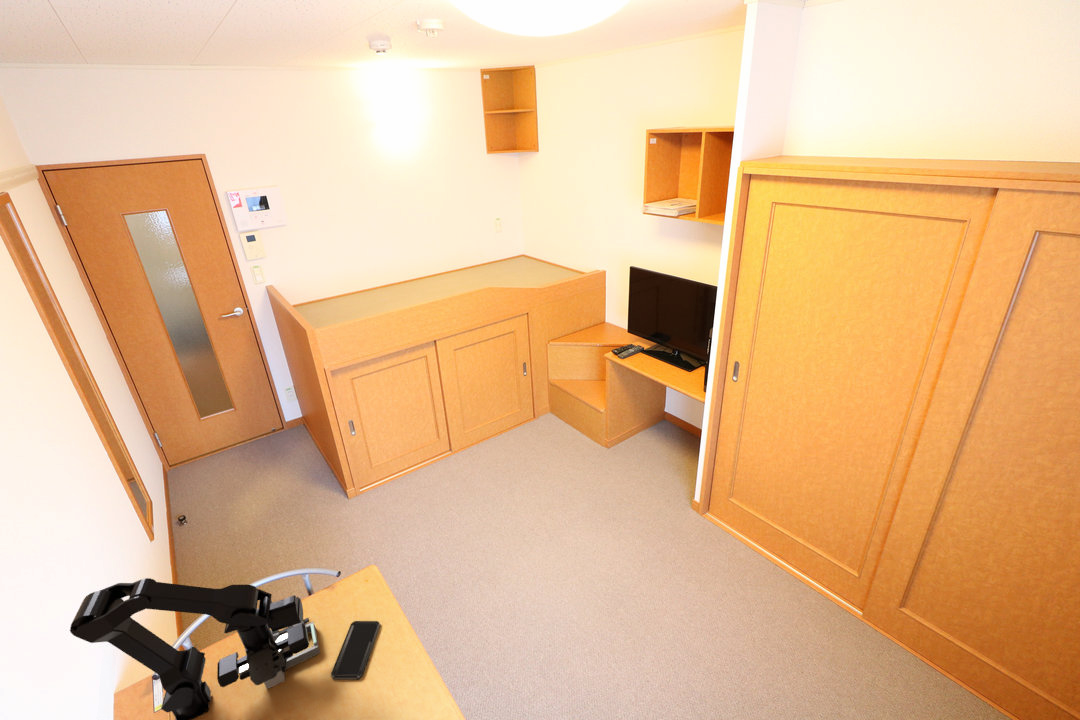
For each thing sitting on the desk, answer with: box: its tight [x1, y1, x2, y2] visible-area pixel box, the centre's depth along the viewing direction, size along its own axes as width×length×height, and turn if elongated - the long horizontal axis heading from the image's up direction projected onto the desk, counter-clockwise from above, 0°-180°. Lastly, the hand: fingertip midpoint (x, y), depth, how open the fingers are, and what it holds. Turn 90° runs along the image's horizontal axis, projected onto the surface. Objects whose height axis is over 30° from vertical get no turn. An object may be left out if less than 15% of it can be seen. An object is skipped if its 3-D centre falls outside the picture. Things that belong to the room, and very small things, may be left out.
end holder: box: [279, 621, 321, 671], centre depth 127 cm, size 8×8×3 cm
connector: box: [264, 668, 286, 690], centre depth 120 cm, size 4×4×7 cm
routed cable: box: [271, 617, 310, 641], centre depth 131 cm, size 11×2×2 cm, turn 120°
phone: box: [330, 620, 381, 681], centre depth 127 cm, size 8×1×15 cm
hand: (274, 675), depth 121 cm, fingers closed on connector, 4 cm apart
